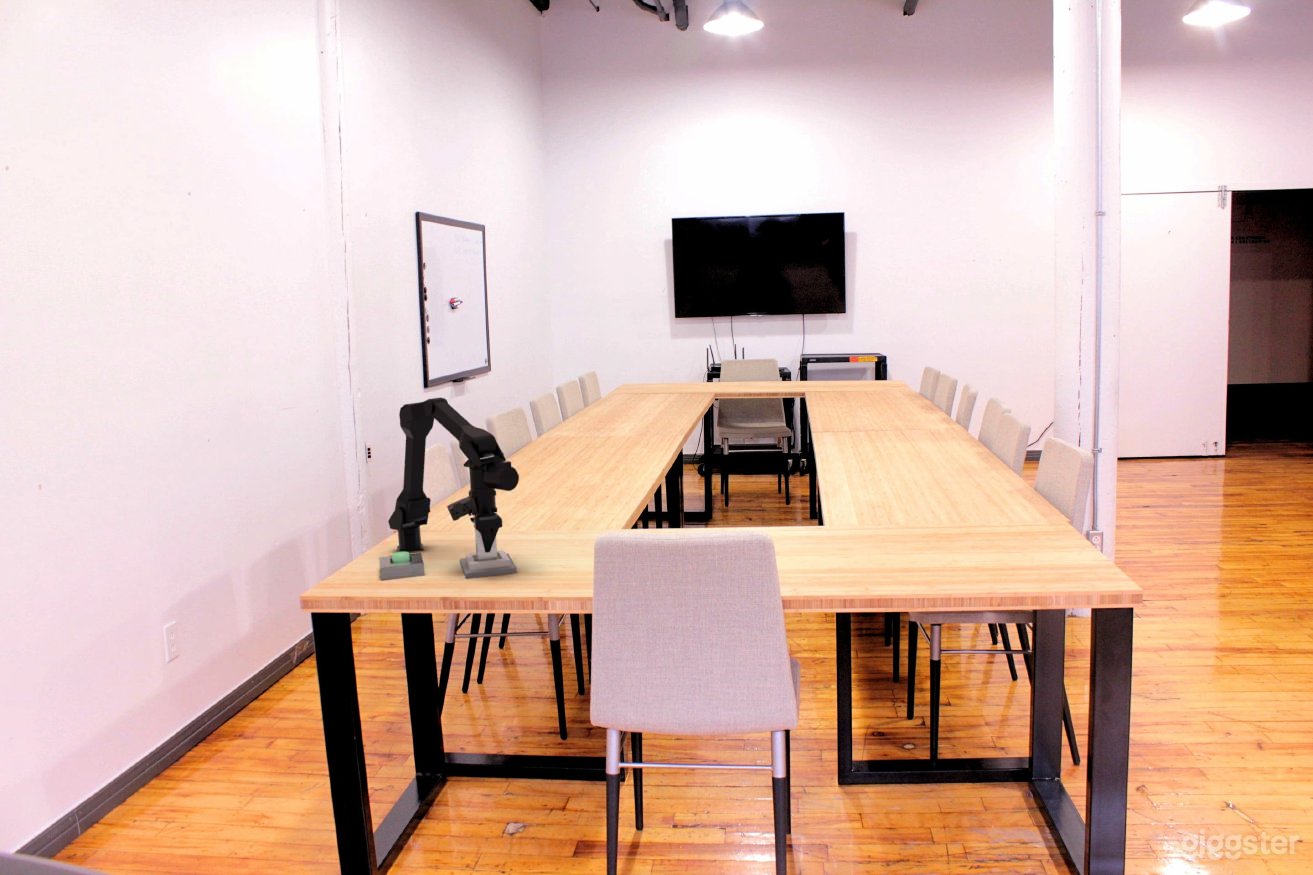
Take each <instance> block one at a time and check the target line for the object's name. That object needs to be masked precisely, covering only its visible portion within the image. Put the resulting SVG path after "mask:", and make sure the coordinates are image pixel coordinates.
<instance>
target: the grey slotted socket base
mask: <svg viewBox="0 0 1313 875" xmlns="http://www.w3.org/2000/svg"><path fill="white" fill-rule="evenodd" d="M459 565H460V567H461V569H462V571H463V572H462V573H463V575H464V579H474V578H483V577H491V576H498V575H508V574H510V575H511V574H516V573H518V567H517V566H516V564H515V563H514V561H513V559H512V557H511V556H510V553H507V552H506V551H505V550H504V549H503V550H497V560H488V561H478V559H477V556H476V552H475V553H466V554H465V557H464V558H459Z"/></svg>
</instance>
